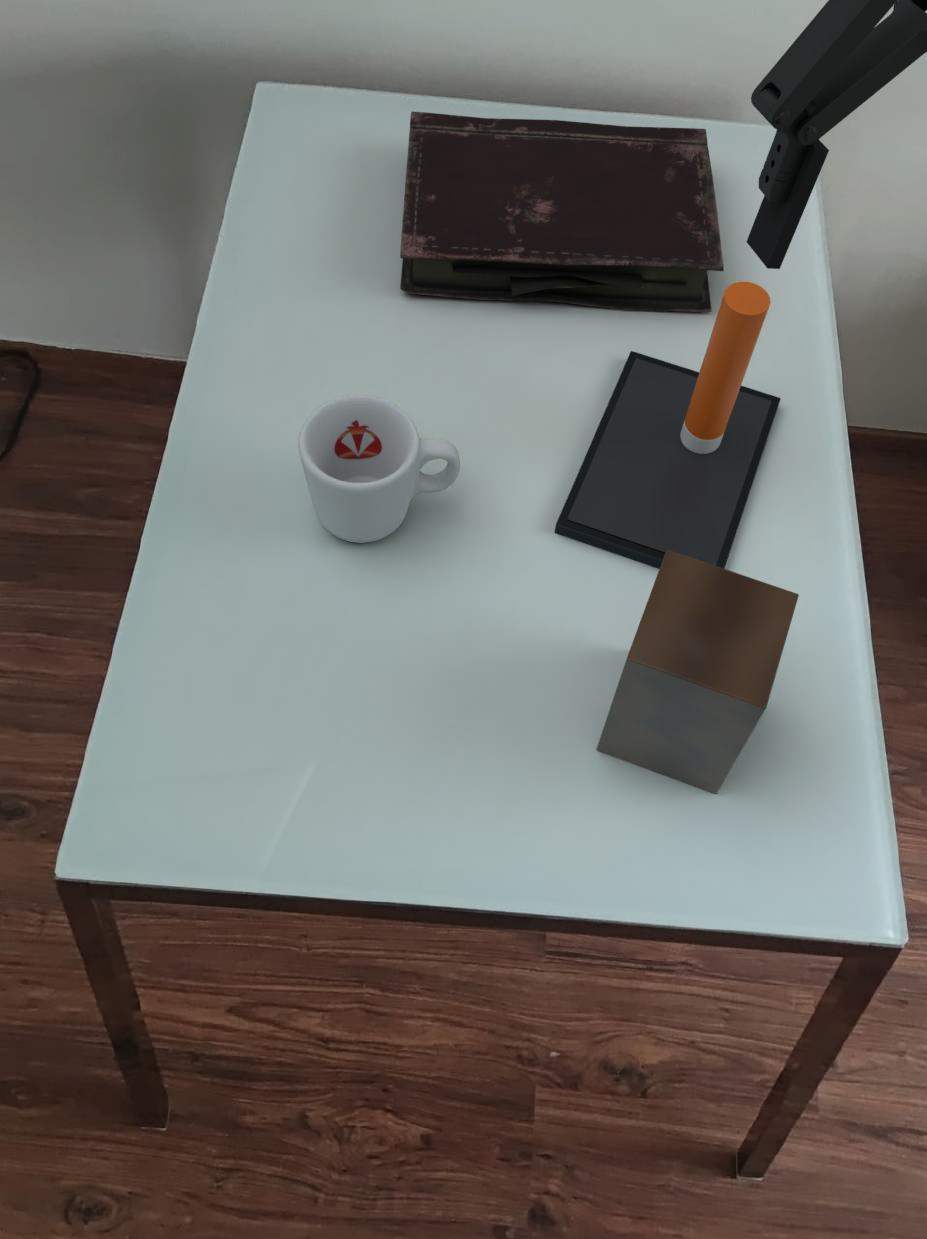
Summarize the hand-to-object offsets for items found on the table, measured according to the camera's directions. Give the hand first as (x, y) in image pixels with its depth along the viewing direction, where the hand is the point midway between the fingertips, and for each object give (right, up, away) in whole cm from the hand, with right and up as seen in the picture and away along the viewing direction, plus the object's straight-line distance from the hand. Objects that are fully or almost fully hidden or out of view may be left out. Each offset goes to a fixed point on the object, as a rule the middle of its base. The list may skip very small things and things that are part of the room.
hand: (869, 261), depth 67 cm
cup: (-28, -12, +20) cm, 36 cm away
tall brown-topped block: (-9, -26, +12) cm, 30 cm away
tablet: (-7, -9, +23) cm, 25 cm away
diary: (-15, +13, +35) cm, 40 cm away
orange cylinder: (-5, -6, +23) cm, 24 cm away
